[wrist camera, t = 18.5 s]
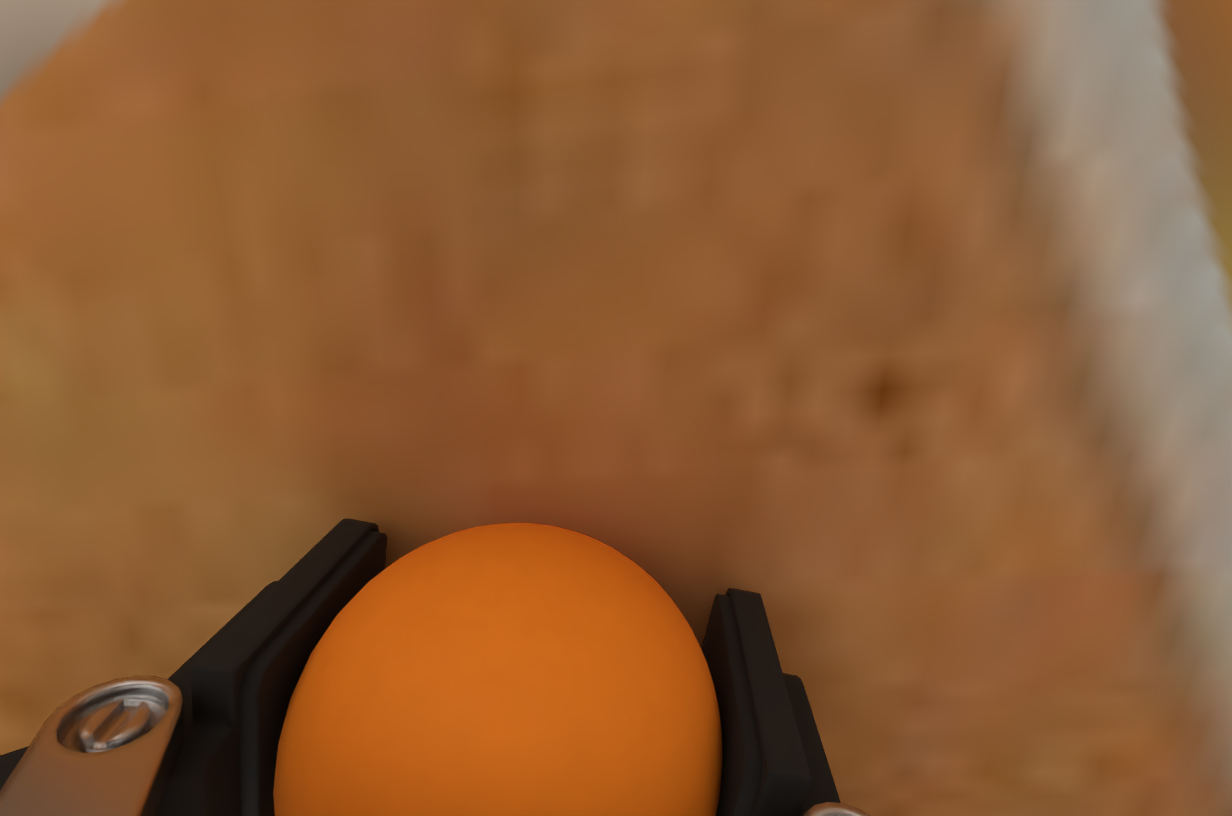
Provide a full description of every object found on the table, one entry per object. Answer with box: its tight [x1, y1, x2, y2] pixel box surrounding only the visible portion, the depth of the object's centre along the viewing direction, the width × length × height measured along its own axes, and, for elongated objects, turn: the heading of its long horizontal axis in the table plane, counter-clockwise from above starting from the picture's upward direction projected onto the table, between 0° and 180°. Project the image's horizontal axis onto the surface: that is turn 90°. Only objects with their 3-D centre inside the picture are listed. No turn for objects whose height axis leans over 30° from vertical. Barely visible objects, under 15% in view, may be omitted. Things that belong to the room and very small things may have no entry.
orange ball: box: [273, 523, 723, 816], centre depth 9 cm, size 6×6×6 cm
